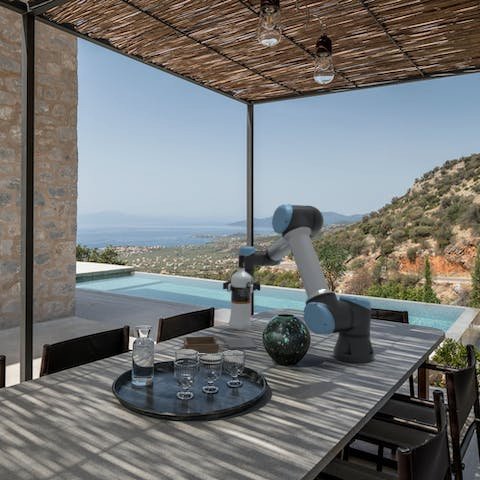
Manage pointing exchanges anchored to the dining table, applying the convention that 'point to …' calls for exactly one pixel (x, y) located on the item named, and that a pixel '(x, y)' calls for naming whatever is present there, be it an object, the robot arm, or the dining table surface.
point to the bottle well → (202, 344)
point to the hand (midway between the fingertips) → (240, 289)
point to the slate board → (240, 344)
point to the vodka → (240, 298)
